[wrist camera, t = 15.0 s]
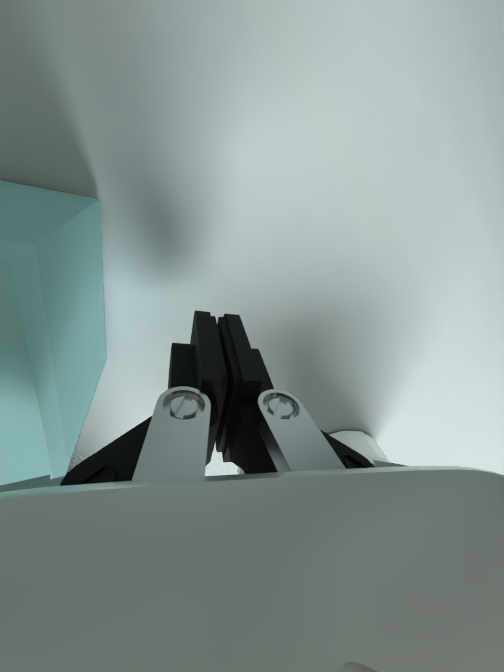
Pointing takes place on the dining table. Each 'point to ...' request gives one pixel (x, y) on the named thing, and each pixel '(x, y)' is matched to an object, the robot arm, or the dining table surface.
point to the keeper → (47, 326)
